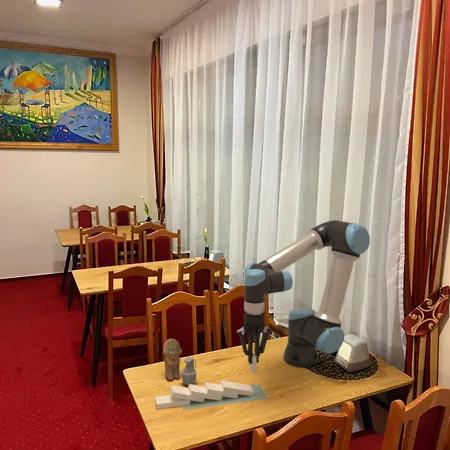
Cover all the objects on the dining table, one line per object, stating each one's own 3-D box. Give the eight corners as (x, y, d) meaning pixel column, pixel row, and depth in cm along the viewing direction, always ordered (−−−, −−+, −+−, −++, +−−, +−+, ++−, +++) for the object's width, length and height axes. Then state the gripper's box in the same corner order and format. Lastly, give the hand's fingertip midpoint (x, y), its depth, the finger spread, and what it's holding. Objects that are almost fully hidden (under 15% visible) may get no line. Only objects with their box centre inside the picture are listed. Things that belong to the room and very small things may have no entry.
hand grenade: (192, 390, 163) (191, 364, 162) (178, 387, 166) (178, 361, 164) (199, 382, 169) (199, 356, 168) (186, 379, 171) (186, 354, 170)
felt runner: (259, 385, 167) (259, 384, 167) (268, 399, 158) (268, 398, 157) (179, 396, 159) (179, 394, 159) (183, 411, 150) (183, 409, 150)
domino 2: (202, 390, 159) (171, 385, 155) (204, 397, 154) (173, 392, 151) (200, 395, 159) (170, 389, 156) (203, 402, 154) (171, 396, 151)
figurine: (169, 383, 168) (168, 348, 166) (160, 375, 175) (159, 340, 173) (187, 378, 173) (187, 343, 170) (178, 369, 180) (178, 336, 177)
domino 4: (234, 387, 162) (205, 382, 158) (238, 394, 157) (208, 389, 153) (233, 391, 162) (204, 386, 158) (237, 398, 157) (207, 393, 154)
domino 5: (249, 385, 163) (220, 380, 160) (253, 391, 158) (224, 386, 155) (248, 389, 163) (219, 384, 160) (252, 396, 159) (222, 391, 155)
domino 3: (218, 389, 160) (189, 384, 157) (222, 396, 155) (191, 391, 152) (217, 393, 160) (187, 388, 157) (220, 400, 156) (190, 395, 152)
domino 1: (187, 392, 157) (155, 396, 155) (189, 400, 153) (156, 404, 150) (187, 397, 158) (155, 401, 155) (190, 404, 153) (156, 409, 150)
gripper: (267, 306, 161) (266, 364, 165) (234, 309, 158) (234, 368, 162) (274, 313, 154) (272, 373, 158) (240, 316, 151) (239, 377, 155)
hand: (253, 370), depth 160 cm, fingers closed
